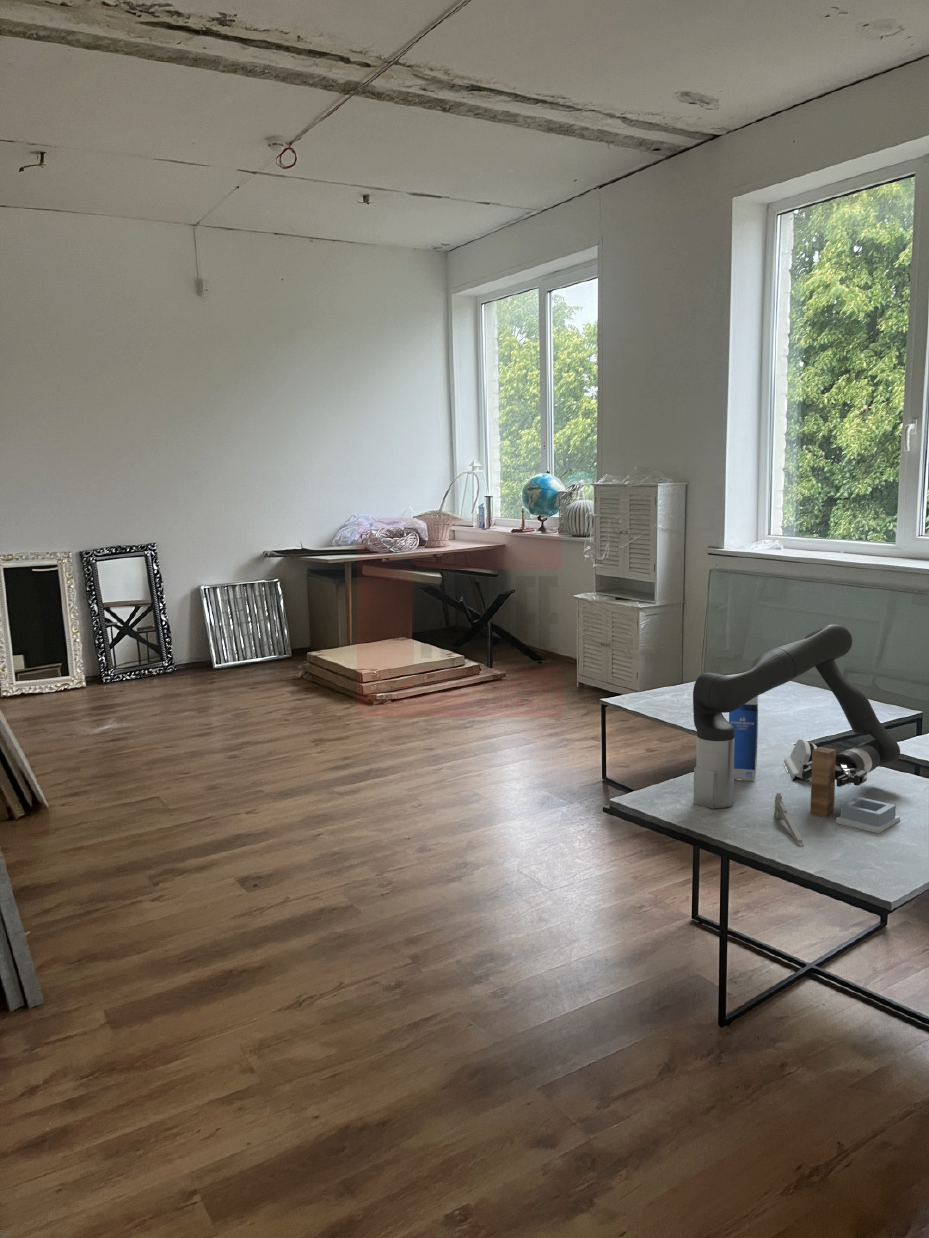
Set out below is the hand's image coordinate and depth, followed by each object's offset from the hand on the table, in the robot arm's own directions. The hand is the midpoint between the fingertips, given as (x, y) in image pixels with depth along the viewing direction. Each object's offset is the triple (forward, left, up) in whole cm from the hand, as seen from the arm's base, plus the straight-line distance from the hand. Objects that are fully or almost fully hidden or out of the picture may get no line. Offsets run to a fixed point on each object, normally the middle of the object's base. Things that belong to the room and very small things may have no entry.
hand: (820, 778), depth 219 cm
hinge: (+28, +22, -9) cm, 37 cm away
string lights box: (+14, +32, -9) cm, 36 cm away
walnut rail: (+1, 0, -9) cm, 9 cm away
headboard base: (+4, -10, -9) cm, 14 cm away
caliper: (-15, -1, -10) cm, 18 cm away
